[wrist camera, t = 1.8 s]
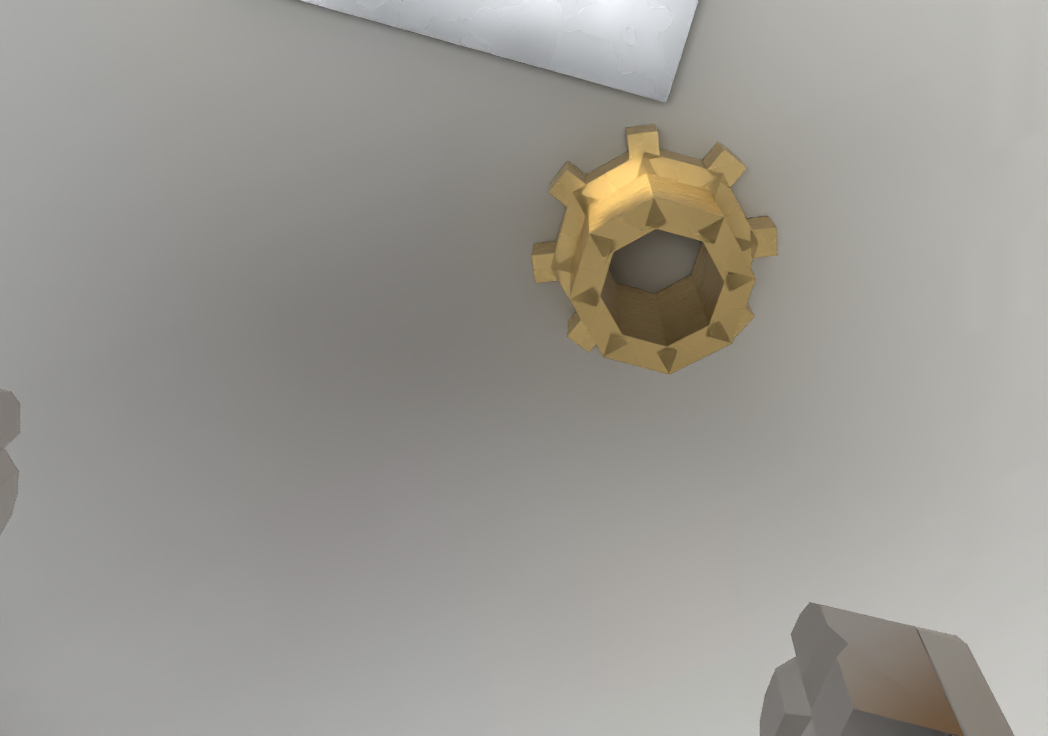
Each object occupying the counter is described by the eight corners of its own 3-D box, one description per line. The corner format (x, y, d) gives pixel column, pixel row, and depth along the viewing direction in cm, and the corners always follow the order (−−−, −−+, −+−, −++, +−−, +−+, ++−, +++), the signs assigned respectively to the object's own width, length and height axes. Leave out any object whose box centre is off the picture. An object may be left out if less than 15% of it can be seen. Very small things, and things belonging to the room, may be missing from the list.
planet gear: (721, 372, 33) (743, 436, 29) (513, 316, 33) (502, 372, 28) (798, 164, 30) (836, 197, 26) (572, 101, 30) (570, 123, 25)
